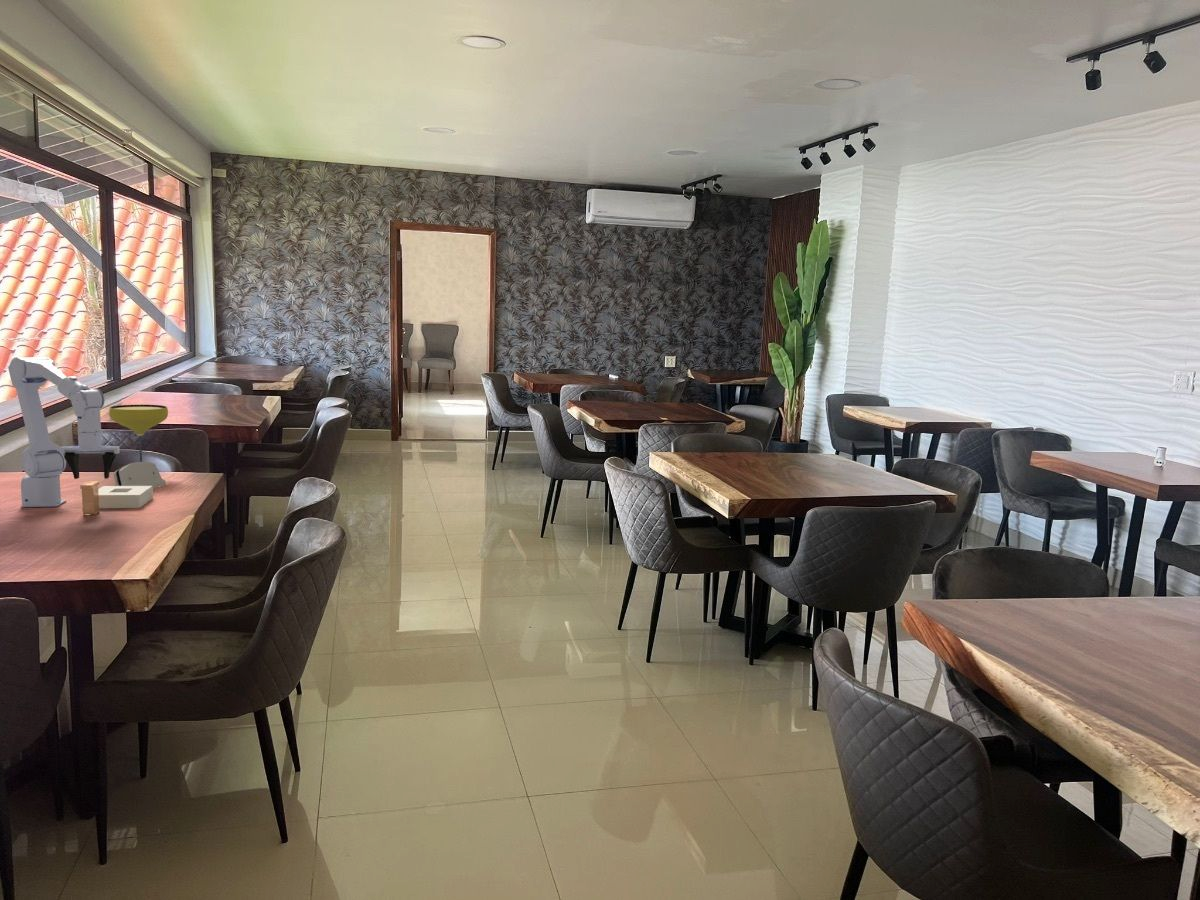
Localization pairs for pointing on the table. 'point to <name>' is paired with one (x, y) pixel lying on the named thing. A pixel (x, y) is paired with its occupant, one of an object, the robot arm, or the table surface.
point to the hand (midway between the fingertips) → (91, 478)
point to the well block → (124, 496)
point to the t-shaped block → (90, 497)
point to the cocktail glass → (138, 417)
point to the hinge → (139, 475)
